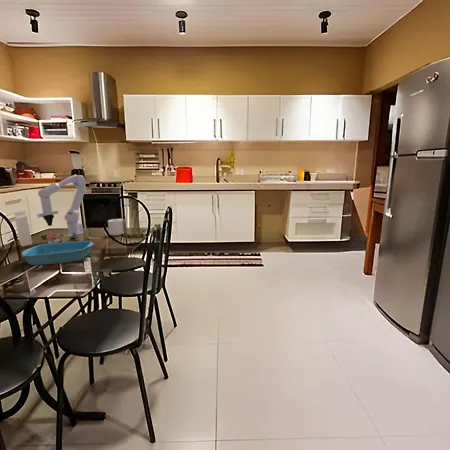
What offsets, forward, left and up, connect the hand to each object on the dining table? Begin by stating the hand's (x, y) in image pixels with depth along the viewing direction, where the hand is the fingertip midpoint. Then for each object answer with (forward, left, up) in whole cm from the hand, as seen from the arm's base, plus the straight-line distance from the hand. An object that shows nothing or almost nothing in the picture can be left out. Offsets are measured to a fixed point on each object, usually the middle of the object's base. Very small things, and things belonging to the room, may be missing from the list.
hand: (50, 225), depth 218 cm
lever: (+7, +13, -6) cm, 16 cm away
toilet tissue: (-25, +37, -10) cm, 46 cm away
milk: (+15, -6, -10) cm, 19 cm away
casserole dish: (+30, +45, -10) cm, 55 cm away
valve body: (+2, +13, -10) cm, 16 cm away
